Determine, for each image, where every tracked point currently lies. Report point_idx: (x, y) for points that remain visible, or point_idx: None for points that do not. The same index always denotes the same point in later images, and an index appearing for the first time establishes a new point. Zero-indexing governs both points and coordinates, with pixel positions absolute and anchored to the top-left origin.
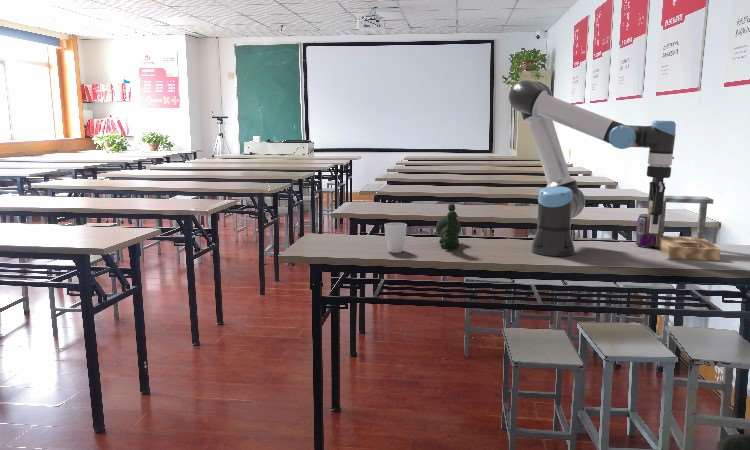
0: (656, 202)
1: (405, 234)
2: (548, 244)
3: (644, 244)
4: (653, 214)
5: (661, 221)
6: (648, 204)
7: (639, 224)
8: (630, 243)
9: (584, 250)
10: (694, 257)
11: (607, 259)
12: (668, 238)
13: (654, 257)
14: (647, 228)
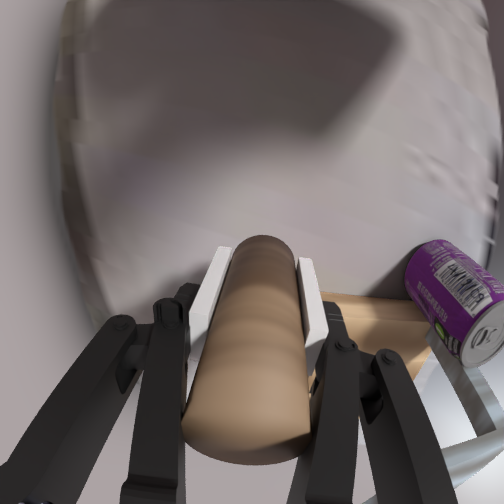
0: (63, 391)
1: None
2: None
3: (412, 261)
4: (162, 320)
5: (452, 367)
6: (393, 382)
7: (473, 279)
8: (469, 233)
9: (338, 6)
10: None
11: (175, 50)
12: (394, 345)
13: (239, 235)
14: (248, 252)
